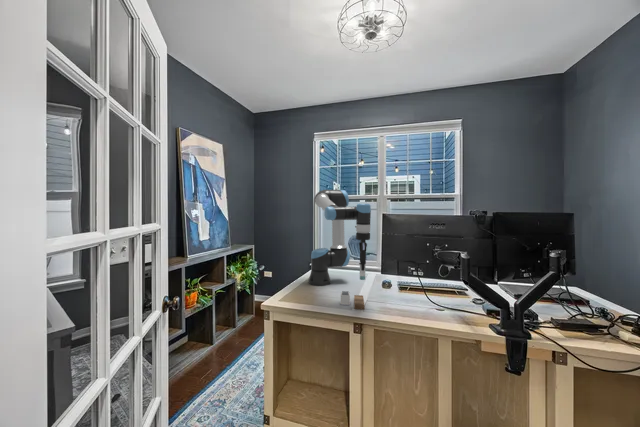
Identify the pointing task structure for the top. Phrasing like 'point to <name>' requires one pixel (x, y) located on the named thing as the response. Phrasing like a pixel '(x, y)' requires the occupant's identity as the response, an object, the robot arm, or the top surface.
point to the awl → (362, 277)
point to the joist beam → (359, 302)
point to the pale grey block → (345, 298)
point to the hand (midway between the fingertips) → (362, 275)
